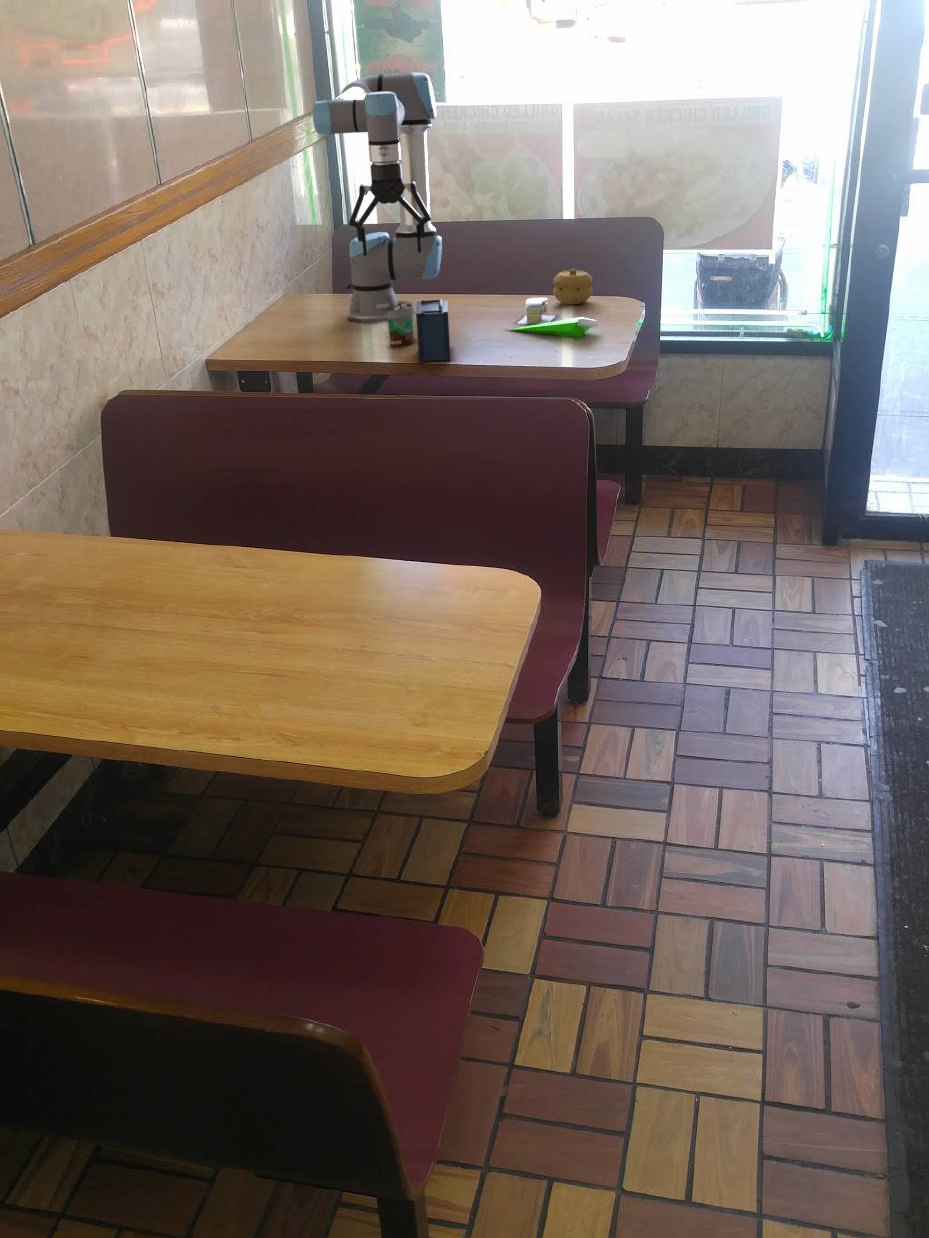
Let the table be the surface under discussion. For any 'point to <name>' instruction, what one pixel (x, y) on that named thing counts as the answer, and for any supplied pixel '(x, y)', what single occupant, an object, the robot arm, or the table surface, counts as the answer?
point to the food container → (401, 324)
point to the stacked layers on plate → (536, 312)
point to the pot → (572, 286)
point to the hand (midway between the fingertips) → (392, 253)
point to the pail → (433, 330)
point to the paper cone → (562, 327)
